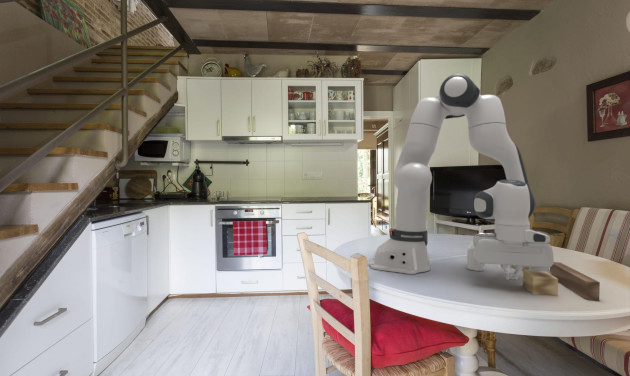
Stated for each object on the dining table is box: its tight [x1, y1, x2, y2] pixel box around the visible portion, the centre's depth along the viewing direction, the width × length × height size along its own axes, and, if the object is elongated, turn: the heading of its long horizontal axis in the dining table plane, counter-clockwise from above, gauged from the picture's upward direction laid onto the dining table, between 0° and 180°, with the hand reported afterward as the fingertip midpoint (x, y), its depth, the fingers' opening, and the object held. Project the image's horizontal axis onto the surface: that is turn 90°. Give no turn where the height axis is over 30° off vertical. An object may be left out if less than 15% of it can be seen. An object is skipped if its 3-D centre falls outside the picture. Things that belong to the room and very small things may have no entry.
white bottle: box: [466, 240, 485, 272], centre depth 108 cm, size 6×12×6 cm
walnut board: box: [549, 261, 601, 302], centre depth 89 cm, size 3×20×5 cm, turn 164°
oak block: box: [522, 270, 559, 297], centre depth 87 cm, size 6×7×5 cm
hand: (511, 279), depth 89 cm, fingers closed
